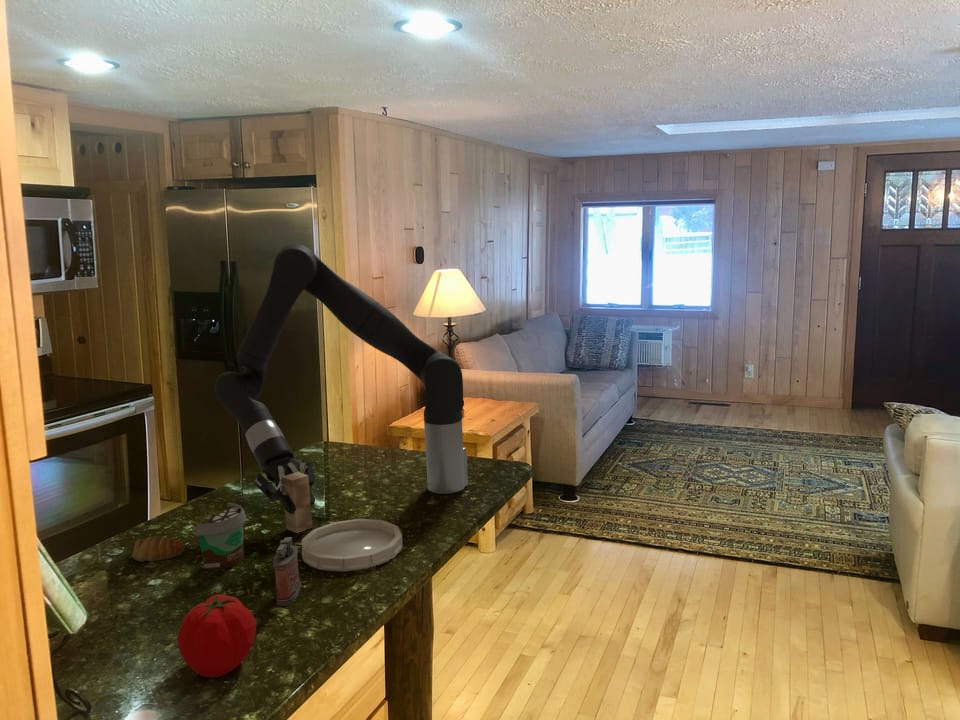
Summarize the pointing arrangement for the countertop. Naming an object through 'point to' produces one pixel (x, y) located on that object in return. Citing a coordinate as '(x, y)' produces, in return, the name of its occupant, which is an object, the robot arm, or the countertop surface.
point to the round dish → (351, 545)
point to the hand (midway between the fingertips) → (302, 508)
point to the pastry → (156, 549)
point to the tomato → (216, 635)
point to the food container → (222, 538)
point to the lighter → (286, 572)
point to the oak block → (298, 502)
